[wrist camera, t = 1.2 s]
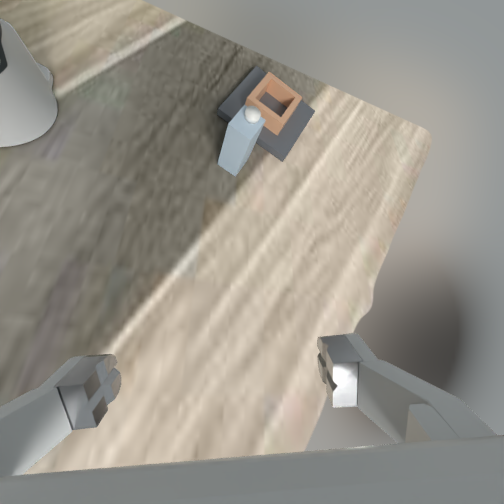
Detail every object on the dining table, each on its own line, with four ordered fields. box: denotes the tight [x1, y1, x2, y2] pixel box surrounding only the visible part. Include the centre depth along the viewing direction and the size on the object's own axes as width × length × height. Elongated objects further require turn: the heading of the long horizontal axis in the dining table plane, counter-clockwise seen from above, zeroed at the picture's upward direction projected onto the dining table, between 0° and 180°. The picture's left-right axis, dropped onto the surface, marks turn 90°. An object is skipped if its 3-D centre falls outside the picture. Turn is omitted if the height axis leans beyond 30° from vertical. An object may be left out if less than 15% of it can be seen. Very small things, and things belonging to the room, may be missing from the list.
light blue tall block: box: [218, 105, 266, 176], centre depth 40 cm, size 4×5×11 cm
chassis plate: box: [217, 66, 315, 162], centre depth 48 cm, size 16×16×4 cm
